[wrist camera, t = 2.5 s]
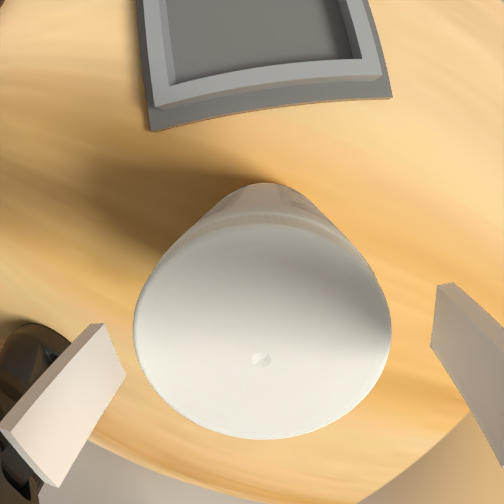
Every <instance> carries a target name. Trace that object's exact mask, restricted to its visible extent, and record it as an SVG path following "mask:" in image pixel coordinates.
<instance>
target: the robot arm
mask: <svg viewBox="0 0 504 504" xmlns="http://www.w3.org/2000/svg"><path fill="white" fill-rule="evenodd" d="M430 347H431V348H432V350H433V351H434V353H435V354H436V356H437V357H438V359H439V360H440V362H441V363H442V365H443V366H444V368H445V370H446V371H447V373H448V374H449V376H450V377H451V379H452V381H453V382H454V384H455V385H456V387H457V389H458V390H459V392H460V393H461V395H462V397H463V398H464V400H465V402H466V403H467V405H468V407H469V408H470V410H471V412H472V413H473V415H474V417H475V419H476V420H477V422H478V424H479V426H480V427H481V429H482V431H483V433H484V435H485V437H486V438H487V440H488V442H489V444H490V446H491V448H492V450H493V451H494V453H495V455H496V457H497V459H498V461H499V463H500V465H501V467H502V468H503V467H504V328H503V327H502V326H501V325H500V324H499V323H498V322H497V321H496V320H495V319H494V318H493V317H492V316H491V315H490V314H488V313H487V312H486V311H485V310H484V309H483V308H482V307H481V306H480V305H479V304H478V303H476V302H475V301H474V300H473V299H472V298H471V297H470V296H469V295H467V294H466V293H465V292H464V291H463V290H462V289H460V288H459V287H458V286H457V285H456V284H455V283H453V282H452V283H448V284H443V285H438V286H437V292H436V303H435V313H434V322H433V329H432V337H431V343H430ZM125 377H126V374H125V372H124V369H123V367H122V365H121V363H120V360H119V358H118V356H117V353H116V351H115V349H114V346H113V344H112V341H111V339H110V336H109V334H108V331H107V329H106V326H105V323H102V324H90V325H89V326H88V327H87V328H86V329H85V330H84V331H83V332H82V333H81V334H80V335H79V336H78V337H77V338H76V339H75V340H74V341H73V342H72V344H71V343H69V342H68V341H67V340H66V339H64V338H63V337H62V336H60V335H59V334H57V333H56V332H54V331H52V330H50V329H48V328H46V327H44V326H41V325H37V324H25V325H22V326H21V327H19V328H18V329H17V330H16V331H14V332H13V333H12V334H11V335H10V336H9V337H8V338H7V340H6V342H5V344H4V346H3V348H2V349H1V351H0V504H39V499H38V494H39V492H40V490H41V488H42V486H43V484H44V483H45V482H46V483H48V484H50V485H53V486H55V487H58V488H59V487H60V485H61V483H62V481H63V480H64V478H65V476H66V474H67V473H68V471H69V469H70V467H71V466H72V464H73V462H74V461H75V459H76V457H77V455H78V454H79V452H80V450H81V449H82V447H83V445H84V444H85V442H86V440H87V439H88V437H89V435H90V434H91V432H92V430H93V429H94V427H95V425H96V424H97V423H98V421H99V420H100V418H101V416H102V415H103V413H104V411H105V409H106V407H107V406H108V404H109V403H110V401H111V399H112V398H113V396H114V395H115V393H116V391H117V390H118V388H119V387H120V385H121V383H122V382H123V380H124V379H125Z"/></svg>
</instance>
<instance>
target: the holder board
mask: <svg viewBox="0 0 504 504" xmlns="http://www.w3.org/2000/svg"><path fill="white" fill-rule="evenodd" d="M137 16H138V28H139V40H140V50H141V60H142V69H143V77H144V85H145V93H146V100H147V108H148V114H149V121H150V128H151V131H152V132H158V131H162V130H166V129H170V128H174V127H178V126H182V125H187V124H191V123H195V122H200V121H204V120H209V119H214V118H219V117H224V116H230V115H235V114H241V113H246V112H252V111H259V110H265V109H272V108H280V107H287V106H296V105H305V104H314V103H325V102H338V101H355V100H381V99H390V98H392V97H393V96H392V91H391V86H390V81H389V76H388V72H387V68H386V63H385V59H384V55H383V51H382V47H381V43H380V40H379V36H378V32H377V29H376V26H375V22H374V19H373V16H372V12H371V9H370V6H369V3H368V0H137Z"/></svg>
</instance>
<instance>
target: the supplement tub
mask: <svg viewBox="0 0 504 504" xmlns="http://www.w3.org/2000/svg"><path fill="white" fill-rule="evenodd" d="M391 333H392V331H391V317H390V311H389V307H388V304H387V301H386V298H385V296H384V293H383V291H382V289H381V287H380V285H379V283H378V281H377V279H376V277H375V275H374V272H373V271H372V269H371V267H370V266H369V264H368V263H367V261H366V260H365V258H364V257H363V256H362V254H361V253H360V252H359V251H358V250H357V249H356V248H355V247H354V246H353V244H352V243H351V242H350V241H349V240H348V239H347V237H346V236H345V235H344V234H343V233H342V232H341V231H340V230H339V229H338V228H337V227H336V226H335V225H334V224H333V223H332V222H331V221H330V220H329V219H328V218H327V217H326V216H325V215H324V214H323V213H322V212H321V211H320V210H319V209H318V208H317V207H316V206H315V205H314V204H313V203H312V202H311V201H310V200H309V199H308V198H306V197H305V196H304V195H302V194H301V193H300V192H298V191H296V190H294V189H292V188H290V187H287V186H284V185H280V184H275V183H256V184H251V185H247V186H244V187H241V188H239V189H237V190H235V191H233V192H231V193H230V194H228V195H227V196H225V197H224V198H223V199H221V200H220V201H219V202H218V203H217V204H216V205H215V206H214V207H212V208H211V209H210V210H209V211H208V212H207V213H206V214H205V215H204V216H203V217H201V218H200V219H199V220H198V221H197V222H196V223H195V224H194V225H193V226H191V227H190V228H189V229H188V230H187V231H186V232H185V233H184V234H183V235H182V236H181V237H180V238H179V239H178V240H177V241H176V242H175V243H174V244H173V245H172V246H171V247H170V248H169V249H168V250H167V251H166V252H165V253H164V255H163V256H162V257H161V259H160V260H159V261H158V263H157V265H156V266H155V268H154V269H153V271H152V273H151V275H150V276H149V278H148V279H147V281H146V283H145V285H144V286H143V288H142V290H141V293H140V295H139V297H138V301H137V304H136V307H135V312H134V320H133V339H134V346H135V351H136V355H137V358H138V361H139V363H140V366H141V368H142V370H143V372H144V374H145V376H146V378H147V379H148V381H149V382H150V384H151V385H152V387H153V388H154V389H155V391H156V392H157V393H158V394H159V395H160V396H161V398H162V399H163V400H164V401H165V402H166V403H167V404H169V405H170V406H171V407H172V408H173V409H174V410H176V411H177V412H178V413H180V414H181V415H183V416H184V417H186V418H187V419H189V420H191V421H192V422H194V423H196V424H198V425H200V426H202V427H204V428H207V429H209V430H212V431H215V432H218V433H221V434H225V435H229V436H233V437H238V438H245V439H260V440H270V439H281V438H288V437H293V436H298V435H302V434H306V433H309V432H312V431H314V430H317V429H319V428H322V427H324V426H326V425H328V424H330V423H332V422H334V421H336V420H337V419H339V418H340V417H342V416H343V415H345V414H346V413H348V412H349V411H350V410H352V409H353V408H354V407H355V406H356V405H357V404H358V403H359V402H360V401H361V400H362V399H363V398H364V397H365V396H366V395H367V394H368V393H369V392H370V390H371V389H372V388H373V386H374V385H375V383H376V382H377V380H378V378H379V376H380V375H381V373H382V371H383V368H384V366H385V364H386V361H387V357H388V354H389V350H390V345H391Z"/></svg>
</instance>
